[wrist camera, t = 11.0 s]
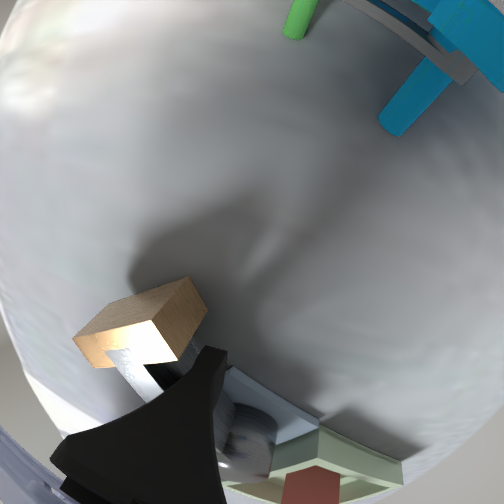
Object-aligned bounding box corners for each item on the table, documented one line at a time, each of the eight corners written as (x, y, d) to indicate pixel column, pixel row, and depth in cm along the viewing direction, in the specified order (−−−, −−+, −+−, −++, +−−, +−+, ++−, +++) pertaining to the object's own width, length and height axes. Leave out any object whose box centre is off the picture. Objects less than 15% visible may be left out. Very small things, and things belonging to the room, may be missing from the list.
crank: (293, 438, 14) (286, 483, 11) (222, 441, 15) (209, 480, 12) (191, 272, 11) (150, 320, 8) (113, 300, 12) (71, 338, 9)
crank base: (251, 447, 16) (249, 453, 16) (133, 373, 15) (129, 379, 15) (319, 419, 14) (318, 427, 13) (177, 323, 13) (171, 331, 12)
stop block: (334, 480, 16) (330, 528, 12) (288, 480, 17) (279, 527, 13) (340, 464, 15) (337, 520, 10) (287, 464, 16) (277, 519, 11)
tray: (306, 493, 19) (304, 512, 17) (220, 460, 18) (212, 483, 16) (401, 461, 15) (403, 485, 13) (319, 423, 14) (317, 457, 12)
